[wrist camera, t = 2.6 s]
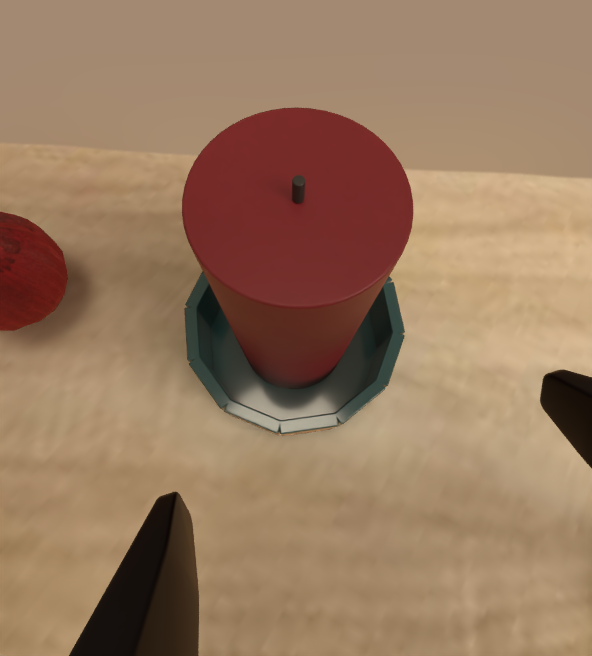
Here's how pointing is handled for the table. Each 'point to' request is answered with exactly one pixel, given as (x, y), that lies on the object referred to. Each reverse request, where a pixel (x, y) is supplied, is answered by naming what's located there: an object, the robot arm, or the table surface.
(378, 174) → the candle
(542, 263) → the table surface
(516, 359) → the table surface
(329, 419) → the shallow bowl
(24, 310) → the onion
